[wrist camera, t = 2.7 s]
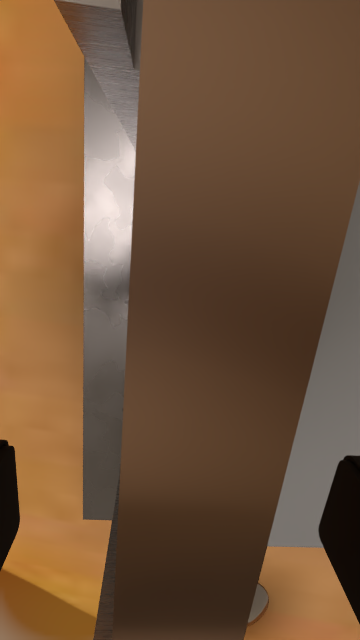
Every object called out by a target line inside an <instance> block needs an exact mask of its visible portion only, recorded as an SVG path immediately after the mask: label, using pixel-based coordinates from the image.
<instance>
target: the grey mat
mask: <svg viewBox="0 0 360 640" xmlns="http://www.w3.org/2000/svg"><path fill="white" fill-rule="evenodd" d="M347 455H354V456H360V181H359V185H358V189H357V193H356V197H355V201H354V205H353V209H352V213H351V217H350V221H349V225H348V229H347V233H346V237H345V241H344V245H343V249H342V253H341V256H340V260H339V264H338V268H337V272H336V276H335V280H334V284H333V288H332V292H331V296H330V300H329V304H328V308H327V312H326V316H325V320H324V324H323V328H322V331H321V335H320V339H319V343H318V347H317V351H316V355H315V359H314V363H313V367H312V371H311V375H310V379H309V383H308V387H307V391H306V395H305V399H304V403H303V407H302V410H301V414H300V418H299V422H298V426H297V430H296V434H295V438H294V442H293V446H292V450H291V454H290V458H289V462H288V466H287V470H286V474H285V478H284V482H283V486H282V489H281V493H280V497H279V501H278V505H277V509H276V513H275V517H274V521H273V525H272V529H271V533H270V537H269V541H268V545H267V546H278V547H321V548H324V547H323V545H322V543H321V540H320V537H319V532H318V528H319V524H320V520H321V517H322V514H323V511H324V508H325V504H326V501H327V498H328V495H329V491H330V488H331V485H332V482H333V479H334V475H335V472H336V469H337V466H338V463H339V461H341V460H343V459H344V457H345V456H347Z"/></svg>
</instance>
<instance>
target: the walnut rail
mask: <svg viewBox="0 0 360 640" xmlns="http://www.w3.org/2000/svg"><path fill="white" fill-rule="evenodd" d="M359 181H360V0H143V16H142V37H141V57H140V78H139V98H138V119H137V139H136V160H135V180H134V201H133V221H132V241H131V262H130V282H129V303H128V323H127V344H126V364H125V384H124V405H123V425H122V446H121V466H120V487H119V507H118V528H117V548H116V568H115V589H114V609H113V630H112V640H244V636H245V632H246V628H247V624H248V620H249V616H250V612H251V608H252V604H253V600H254V596H255V592H256V588H257V584H258V580H259V576H260V572H261V568H262V564H263V561H264V557H265V553H266V549H267V545H268V541H269V537H270V533H271V529H272V525H273V521H274V517H275V513H276V509H277V505H278V501H279V497H280V493H281V489H282V486H283V482H284V478H285V474H286V470H287V466H288V462H289V458H290V454H291V450H292V446H293V442H294V438H295V434H296V430H297V426H298V422H299V418H300V414H301V410H302V407H303V403H304V399H305V395H306V391H307V387H308V383H309V379H310V375H311V371H312V367H313V363H314V359H315V355H316V351H317V347H318V343H319V339H320V335H321V331H322V328H323V324H324V320H325V316H326V312H327V308H328V304H329V300H330V296H331V292H332V288H333V284H334V280H335V276H336V272H337V268H338V264H339V260H340V256H341V253H342V249H343V245H344V241H345V237H346V233H347V229H348V225H349V221H350V217H351V213H352V209H353V205H354V201H355V197H356V193H357V189H358V185H359Z"/></svg>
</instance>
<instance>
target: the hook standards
mask: <svg viewBox="0 0 360 640" xmlns="http://www.w3.org/2000/svg"><path fill="white" fill-rule="evenodd" d="M54 1H55V3H56V5H57V7H58V9H59V10H60V12H61V14H62V16H63V18H64V20H65V22H66V23H67V25H68V27H69V29H70V31H71V33H72V34H73V36H74V38H75V40H76V42H77V44H78V46H79V47H80V49H81V51H82V53H83V55H84V57H85V78H84V383H83V519H89V520H112V525H111V532H110V538H109V544H108V551H107V557H106V563H105V570H104V576H103V582H102V589H101V595H100V601H99V608H98V614H97V621H96V627H95V633H94V639H93V640H112V630H113V609H114V589H115V568H116V548H117V528H118V507H119V487H120V466H121V446H122V425H123V405H124V384H125V364H126V344H127V323H128V303H129V282H130V262H131V241H132V221H133V201H134V180H135V160H136V139H137V119H138V98H139V78H140V57H141V37H142V16H143V0H54Z"/></svg>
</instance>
